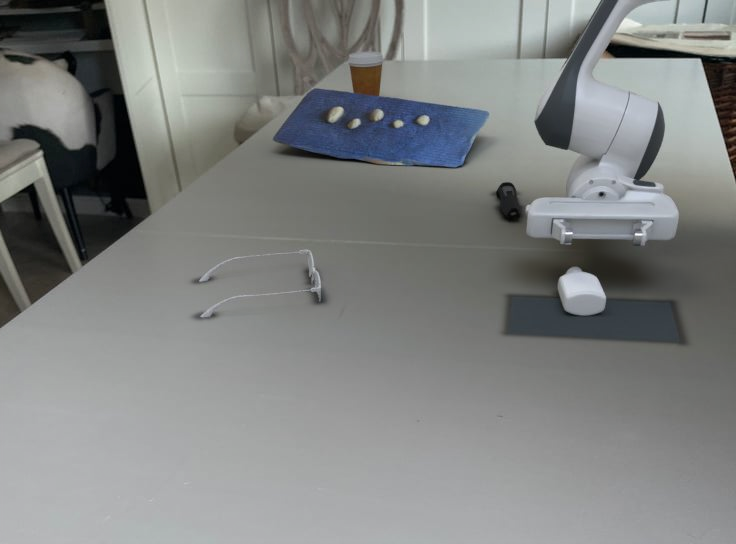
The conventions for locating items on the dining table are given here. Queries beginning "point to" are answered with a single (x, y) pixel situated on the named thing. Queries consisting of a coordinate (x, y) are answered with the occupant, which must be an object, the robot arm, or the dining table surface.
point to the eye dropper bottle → (581, 293)
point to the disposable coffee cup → (366, 72)
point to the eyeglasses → (311, 272)
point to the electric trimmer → (508, 200)
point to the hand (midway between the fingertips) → (602, 239)
